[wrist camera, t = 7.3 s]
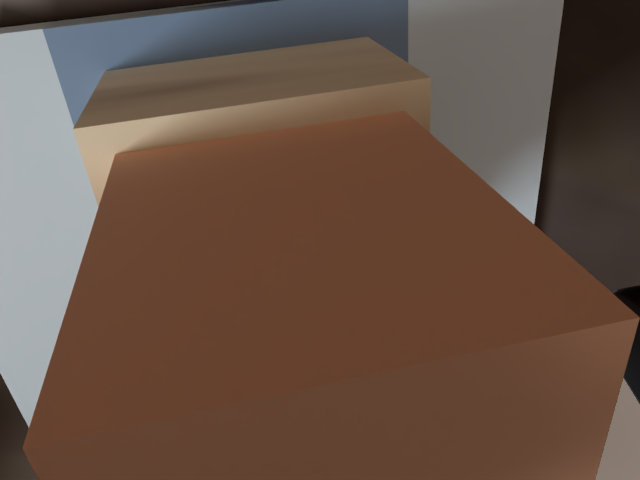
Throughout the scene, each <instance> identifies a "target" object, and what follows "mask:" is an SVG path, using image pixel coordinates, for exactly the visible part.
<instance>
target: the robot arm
mask: <svg viewBox="0 0 640 480" xmlns="http://www.w3.org/2000/svg"><path fill="white" fill-rule="evenodd" d="M613 294H614V295H615V296H616V297H617V298H618V299H619V300H621V301H622V302H623V303H624V304H625V305H626V306H627V307H629V308H630V309H631V310H632V311H633V312H634V313H635V314H636V315H638V316H639V317H640V286H633V287H628V288H623V289H619V290H616V291H614V293H613ZM623 378H624V379H625V381H626V382H627V384H628V386H629V387H630V389H631V391H632V392H633V394H634V395H635V397H636V399H637V400H638V402H639V404H640V319H639V323H638V326H637V330H636V333H635V337H634V341H633V344H632V348H631V352H630V355H629V359H628V362H627V366H626V370H625V373H624V377H623Z"/></svg>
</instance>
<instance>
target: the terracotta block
mask: <svg viewBox="0 0 640 480" xmlns="http://www.w3.org/2000/svg"><path fill="white" fill-rule="evenodd" d="M639 319H640V317H639V316H638V315H636V314H635V313H634V312H633V311H632V310H631V309H630V308H629V307H627V306H626V305H625V304H624V303H623V302H622V301H621V300H619V299H618V298H617V297H616V296H615V295H614V294H613V293H611V292H610V291H609V290H608V289H607V288H606V287H605V286H603V285H602V284H601V283H600V282H599V281H598V280H597V279H595V278H594V277H593V276H592V275H591V274H590V273H589V272H588V271H586V270H585V269H584V268H583V267H582V266H581V265H580V264H578V263H577V262H576V261H575V260H574V259H573V258H572V257H570V256H569V255H568V254H567V253H566V252H565V251H564V250H562V249H561V248H560V247H559V246H558V245H557V244H556V243H554V242H553V241H552V240H551V239H550V238H549V237H548V236H547V235H545V234H544V233H543V232H542V231H541V230H540V229H539V228H537V227H536V226H535V225H534V224H533V223H532V222H531V221H529V220H528V219H527V218H526V217H525V216H524V215H523V214H521V213H520V212H519V211H518V210H517V209H516V208H515V207H514V206H512V205H511V204H510V203H509V202H508V201H507V200H506V199H504V198H503V197H502V196H501V195H500V194H499V193H498V192H496V191H495V190H494V189H493V188H492V187H491V186H490V185H488V184H487V183H486V182H485V181H484V180H483V179H482V178H480V177H479V176H478V175H477V174H476V173H475V172H474V171H473V170H471V169H470V168H469V167H468V166H467V165H466V164H465V163H463V162H462V161H461V160H460V159H459V158H458V157H457V156H455V155H454V154H453V153H452V152H451V151H450V150H449V149H447V148H446V147H445V146H444V145H443V144H442V143H441V142H439V141H438V140H437V139H436V138H435V137H434V136H433V135H432V134H430V133H429V132H428V131H427V130H426V129H425V128H424V127H422V126H421V125H420V124H419V123H418V122H417V121H416V120H414V119H413V118H412V117H411V116H410V115H409V114H408V113H406V112H405V111H401V112H395V113H388V114H381V115H375V116H368V117H361V118H354V119H348V120H341V121H334V122H328V123H321V124H314V125H307V126H301V127H294V128H287V129H280V130H274V131H267V132H260V133H254V134H247V135H240V136H233V137H227V138H220V139H213V140H207V141H200V142H193V143H186V144H180V145H173V146H166V147H160V148H153V149H146V150H139V151H133V152H126V153H119V154H115V156H114V159H113V163H112V166H111V169H110V172H109V175H108V179H107V182H106V185H105V188H104V191H103V194H102V198H101V201H100V204H99V207H98V210H97V213H96V217H95V220H94V223H93V226H92V229H91V232H90V236H89V239H88V242H87V245H86V248H85V252H84V255H83V258H82V261H81V264H80V267H79V271H78V274H77V277H76V280H75V283H74V286H73V290H72V293H71V296H70V299H69V302H68V306H67V309H66V312H65V315H64V318H63V321H62V325H61V328H60V331H59V334H58V337H57V340H56V344H55V347H54V350H53V353H52V356H51V360H50V363H49V366H48V369H47V372H46V375H45V379H44V382H43V385H42V388H41V391H40V394H39V398H38V401H37V404H36V407H35V410H34V413H33V417H32V420H31V423H30V426H29V429H28V433H27V436H26V439H25V442H24V445H23V448H22V450H23V451H24V453H25V455H26V457H27V459H28V461H29V463H30V464H31V466H32V468H33V470H34V472H35V474H36V475H37V477H38V479H39V480H595V478H596V475H597V471H598V468H599V464H600V460H601V457H602V453H603V449H604V446H605V442H606V439H607V435H608V431H609V427H610V424H611V420H612V417H613V413H614V409H615V406H616V402H617V399H618V395H619V391H620V388H621V384H622V381H623V377H624V373H625V370H626V366H627V362H628V359H629V355H630V352H631V348H632V344H633V341H634V337H635V333H636V330H637V326H638V323H639Z"/></svg>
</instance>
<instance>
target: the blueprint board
mask: <svg viewBox="0 0 640 480" xmlns="http://www.w3.org/2000/svg"><path fill="white" fill-rule="evenodd" d="M563 4H564V0H231V1H222V2H214V3H205V4H197V5H188V6H180V7H171V8H163V9H154V10H146V11H137V12H129V13H120V14H112V15H104V16H95V17H87V18H78V19H70V20H61V21H53V22H44V23H36V24H27V25H19V26H10V27H2V28H0V373H1V375H2V377H3V379H4V381H5V383H6V385H7V387H8V389H9V391H10V393H11V395H12V396H13V398H14V400H15V402H16V404H17V406H18V408H19V410H20V412H21V414H22V416H23V417H24V419H25V421H26V423H27V425H28V427H29V426H30V423H31V420H32V417H33V413H34V410H35V407H36V404H37V401H38V398H39V394H40V391H41V388H42V385H43V382H44V379H45V375H46V372H47V369H48V366H49V363H50V360H51V356H52V353H53V350H54V347H55V344H56V340H57V337H58V334H59V331H60V328H61V325H62V321H63V318H64V315H65V312H66V309H67V306H68V302H69V299H70V296H71V293H72V290H73V286H74V283H75V280H76V277H77V274H78V271H79V267H80V264H81V261H82V258H83V255H84V252H85V248H86V245H87V242H88V239H89V236H90V232H91V229H92V226H93V223H94V220H95V217H96V213H97V210H98V205H97V201H96V198H95V195H94V192H93V189H92V186H91V183H90V180H89V177H88V174H87V171H86V168H85V165H84V162H83V159H82V156H81V153H80V150H79V147H78V144H77V140H76V137H75V134H74V131H73V128H74V126H75V124H76V122H77V121H78V119H79V117H80V115H81V113H82V112H83V110H84V108H85V106H86V104H87V103H88V101H89V99H90V97H91V95H92V94H93V92H94V90H95V88H96V86H97V85H98V83H99V81H100V79H101V77H102V76H103V74H104V72H105V71H109V70H117V69H125V68H132V67H140V66H148V65H155V64H163V63H170V62H178V61H186V60H193V59H201V58H209V57H216V56H224V55H231V54H239V53H247V52H254V51H262V50H270V49H277V48H285V47H293V46H300V45H308V44H315V43H323V42H331V41H338V40H346V39H354V38H361V37H369V38H370V39H372V40H373V41H375V42H377V43H378V44H380V45H381V46H383V47H384V48H386V49H387V50H389V51H391V52H392V53H394V54H395V55H397V56H398V57H400V58H401V59H403V60H404V61H406V62H408V63H409V64H411V65H412V66H414V67H415V68H417V69H418V70H420V71H421V72H423V73H425V74H426V75H428V76H429V77H431V105H430V134H432V135H433V136H434V137H435V138H436V139H437V140H438V141H439V142H441V143H442V144H443V145H444V146H445V147H446V148H447V149H449V150H450V151H451V152H452V153H453V154H454V155H455V156H457V157H458V158H459V159H460V160H461V161H462V162H463V163H465V164H466V165H467V166H468V167H469V168H470V169H471V170H473V171H474V172H475V173H476V174H477V175H478V176H479V177H480V178H482V179H483V180H484V181H485V182H486V183H487V184H488V185H490V186H491V187H492V188H493V189H494V190H495V191H496V192H498V193H499V194H500V195H501V196H502V197H503V198H504V199H506V200H507V201H508V202H509V203H510V204H511V205H512V206H514V207H515V208H516V209H517V210H518V211H519V212H520V213H521V214H523V215H524V216H525V217H526V218H527V219H528V220H529V221H531V222H532V223H533V224H534V222H535V215H536V207H537V200H538V192H539V185H540V177H541V170H542V162H543V155H544V147H545V140H546V132H547V124H548V117H549V109H550V102H551V94H552V87H553V79H554V72H555V64H556V57H557V49H558V42H559V34H560V27H561V19H562V12H563Z"/></svg>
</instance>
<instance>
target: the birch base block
mask: <svg viewBox="0 0 640 480" xmlns="http://www.w3.org/2000/svg"><path fill="white" fill-rule="evenodd" d="M430 105H431V77H429V76H428V75H426V74H425V73H423V72H421V71H420V70H418V69H417V68H415V67H414V66H412V65H411V64H409V63H408V62H406V61H404V60H403V59H401V58H400V57H398V56H397V55H395V54H394V53H392V52H391V51H389V50H387V49H386V48H384V47H383V46H381V45H380V44H378V43H377V42H375V41H373V40H372V39H370V38H369V37H361V38H354V39H346V40H338V41H331V42H323V43H315V44H308V45H300V46H293V47H285V48H277V49H270V50H262V51H254V52H247V53H239V54H231V55H224V56H216V57H209V58H201V59H193V60H186V61H178V62H170V63H163V64H155V65H148V66H140V67H132V68H125V69H117V70H109V71H105V72H104V74H103V76H102V77H101V79H100V81H99V83H98V85H97V86H96V88H95V90H94V92H93V94H92V95H91V97H90V99H89V101H88V103H87V104H86V106H85V108H84V110H83V112H82V113H81V115H80V117H79V119H78V121H77V122H76V124H75V126H74V128H73V131H74V134H75V137H76V140H77V144H78V147H79V150H80V153H81V156H82V159H83V162H84V165H85V168H86V171H87V174H88V177H89V180H90V183H91V186H92V189H93V192H94V195H95V198H96V201H97V205H98V207H99V204H100V201H101V198H102V194H103V191H104V188H105V185H106V182H107V179H108V175H109V172H110V169H111V166H112V163H113V159H114V156H115V154H119V153H126V152H133V151H139V150H146V149H153V148H160V147H166V146H173V145H180V144H186V143H193V142H200V141H207V140H213V139H220V138H227V137H233V136H240V135H247V134H254V133H260V132H267V131H274V130H280V129H287V128H294V127H301V126H307V125H314V124H321V123H328V122H334V121H341V120H348V119H354V118H361V117H368V116H375V115H381V114H388V113H395V112H401V111H405V112H406V113H408V114H409V115H410V116H411V117H412V118H413V119H414V120H416V121H417V122H418V123H419V124H420V125H421V126H422V127H424V128H425V129H426V130H427V131H428V132H429V133H430Z"/></svg>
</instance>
